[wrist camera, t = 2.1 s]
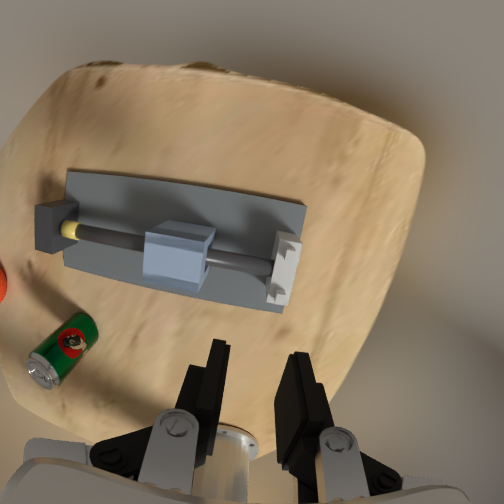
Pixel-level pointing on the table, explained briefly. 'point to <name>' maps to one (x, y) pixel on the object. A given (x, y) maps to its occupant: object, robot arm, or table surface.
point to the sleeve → (177, 255)
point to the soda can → (62, 351)
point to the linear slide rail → (183, 210)
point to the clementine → (2, 285)
